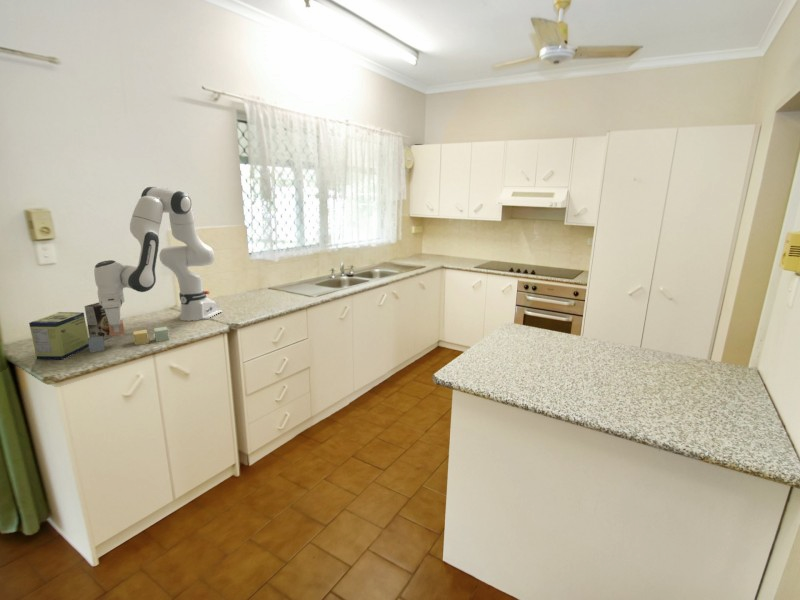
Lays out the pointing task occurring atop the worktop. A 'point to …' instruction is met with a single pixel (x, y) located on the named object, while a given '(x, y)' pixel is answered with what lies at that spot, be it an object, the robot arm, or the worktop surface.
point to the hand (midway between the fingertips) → (116, 329)
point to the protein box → (59, 335)
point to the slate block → (96, 343)
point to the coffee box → (97, 321)
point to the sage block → (161, 334)
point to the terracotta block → (121, 329)
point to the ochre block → (140, 337)
